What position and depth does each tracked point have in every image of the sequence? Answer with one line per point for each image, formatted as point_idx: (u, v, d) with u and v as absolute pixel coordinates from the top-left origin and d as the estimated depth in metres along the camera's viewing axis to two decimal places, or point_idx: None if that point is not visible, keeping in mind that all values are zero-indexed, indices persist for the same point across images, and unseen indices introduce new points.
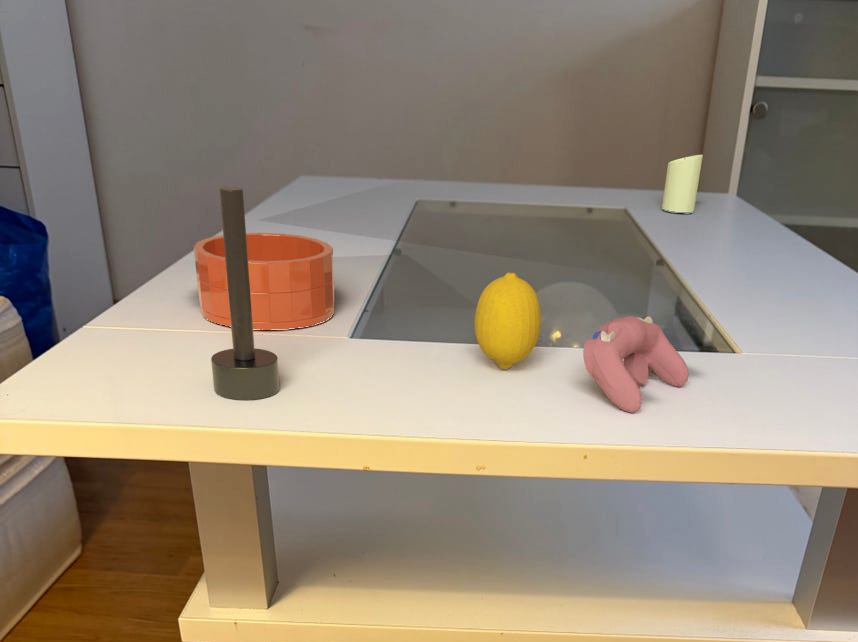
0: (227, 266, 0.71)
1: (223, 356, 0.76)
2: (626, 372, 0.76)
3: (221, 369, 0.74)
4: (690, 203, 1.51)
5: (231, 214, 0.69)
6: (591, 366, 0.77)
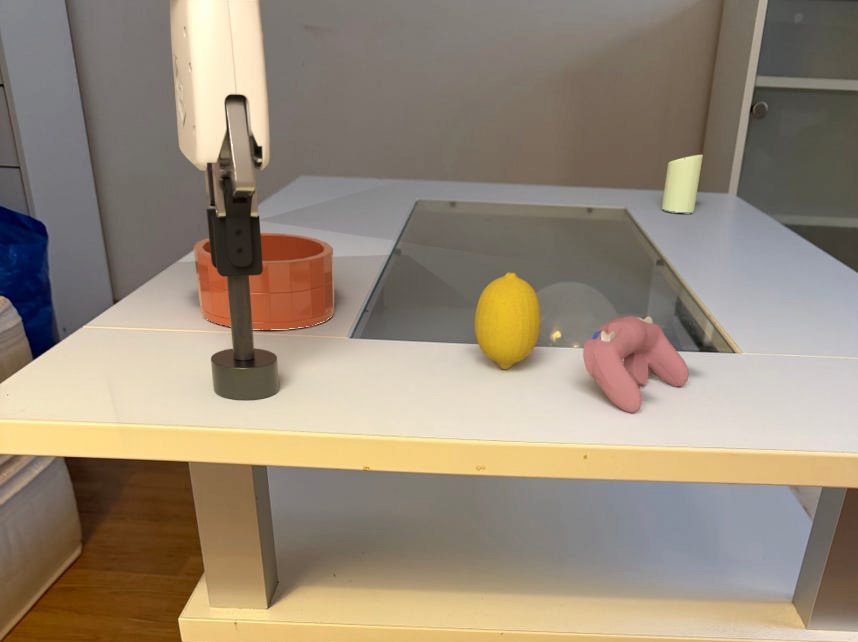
0: None
1: (223, 356, 0.76)
2: (626, 372, 0.76)
3: (221, 369, 0.74)
4: (690, 203, 1.51)
5: None
6: (591, 366, 0.77)
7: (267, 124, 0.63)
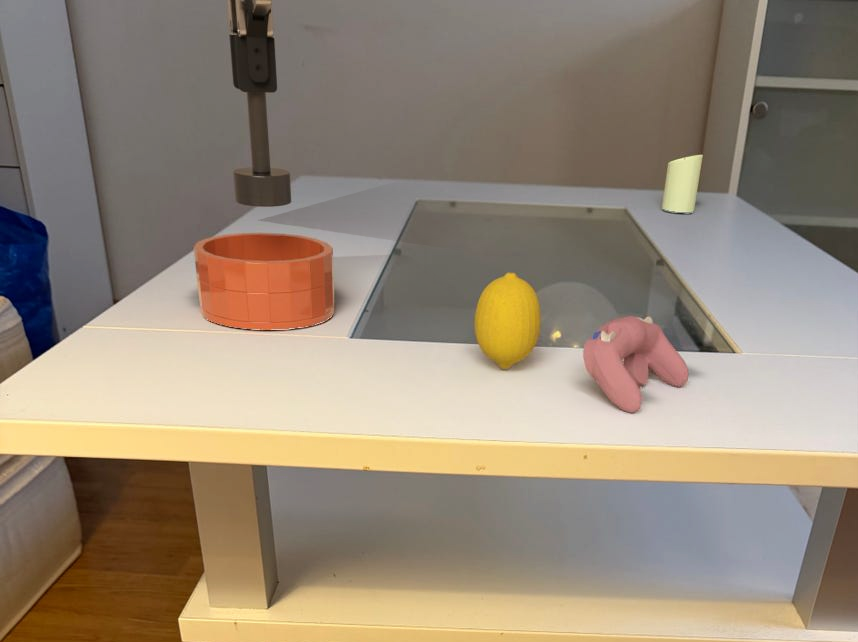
0: None
1: (243, 170, 0.88)
2: (626, 372, 0.76)
3: (242, 178, 0.87)
4: (690, 203, 1.51)
5: None
6: (591, 366, 0.77)
7: None
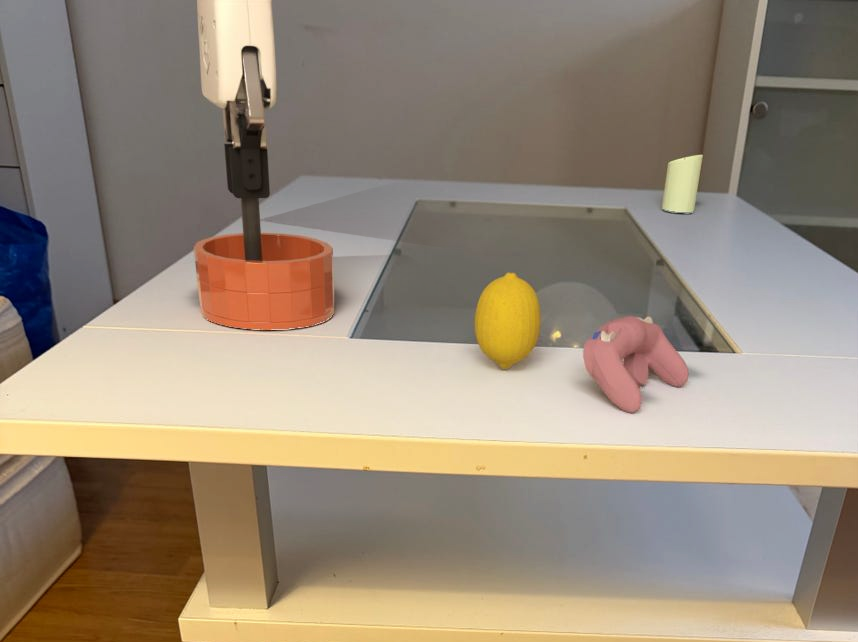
0: None
1: None
2: (626, 372, 0.76)
3: None
4: (690, 203, 1.51)
5: None
6: (591, 366, 0.77)
7: (274, 70, 0.80)
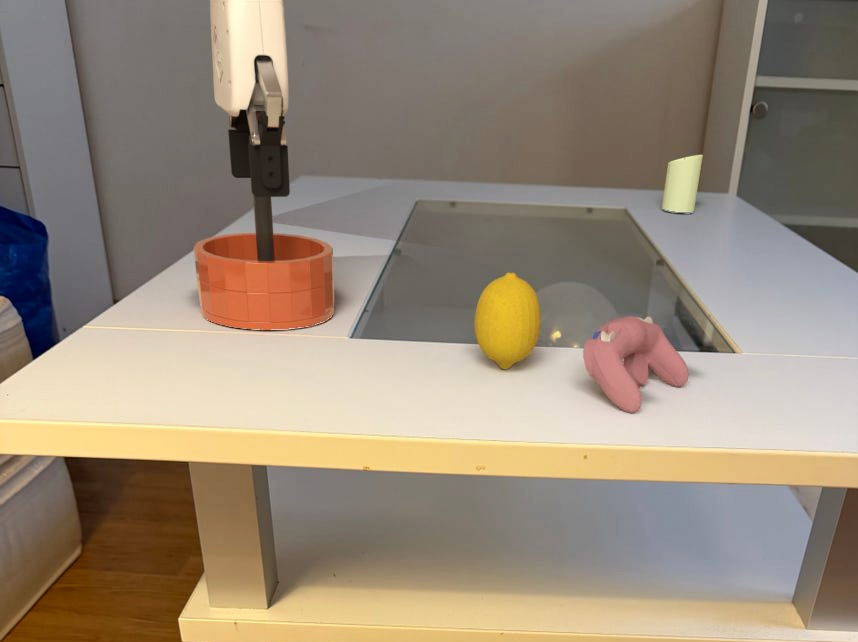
0: (254, 199, 0.89)
1: None
2: (626, 372, 0.76)
3: None
4: (690, 203, 1.51)
5: None
6: (591, 366, 0.77)
7: (287, 79, 0.81)
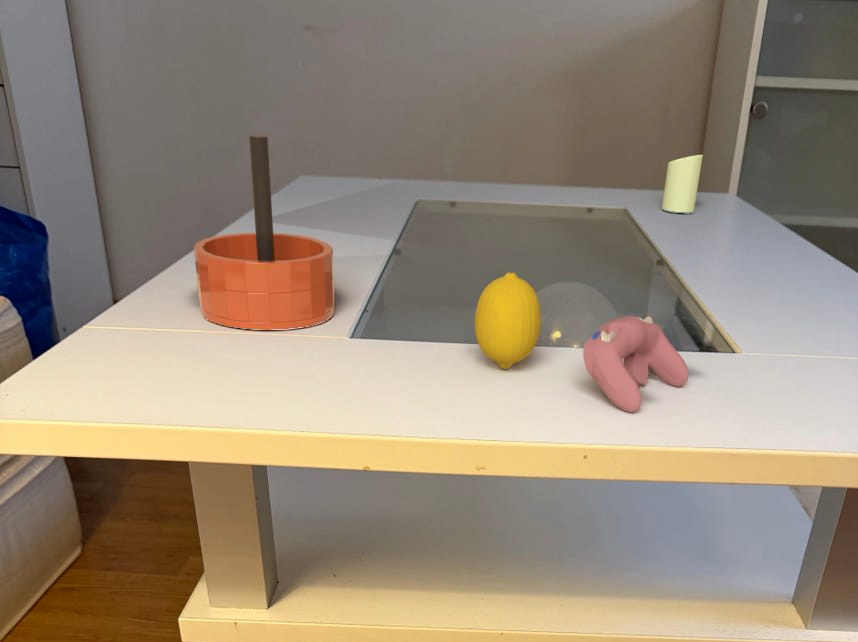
0: (254, 199, 0.89)
1: None
2: (626, 372, 0.76)
3: None
4: (690, 203, 1.51)
5: (258, 156, 0.87)
6: (591, 366, 0.77)
7: None
